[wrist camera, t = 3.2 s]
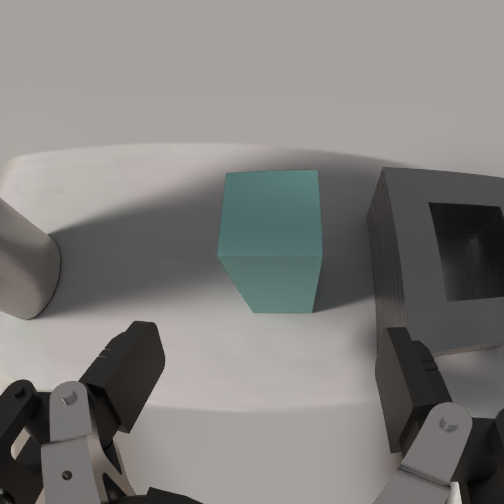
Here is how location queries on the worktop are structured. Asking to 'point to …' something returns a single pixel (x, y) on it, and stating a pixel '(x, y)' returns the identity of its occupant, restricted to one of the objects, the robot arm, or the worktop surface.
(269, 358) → the worktop surface
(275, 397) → the worktop surface
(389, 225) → the socket block
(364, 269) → the worktop surface
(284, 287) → the teal peg
